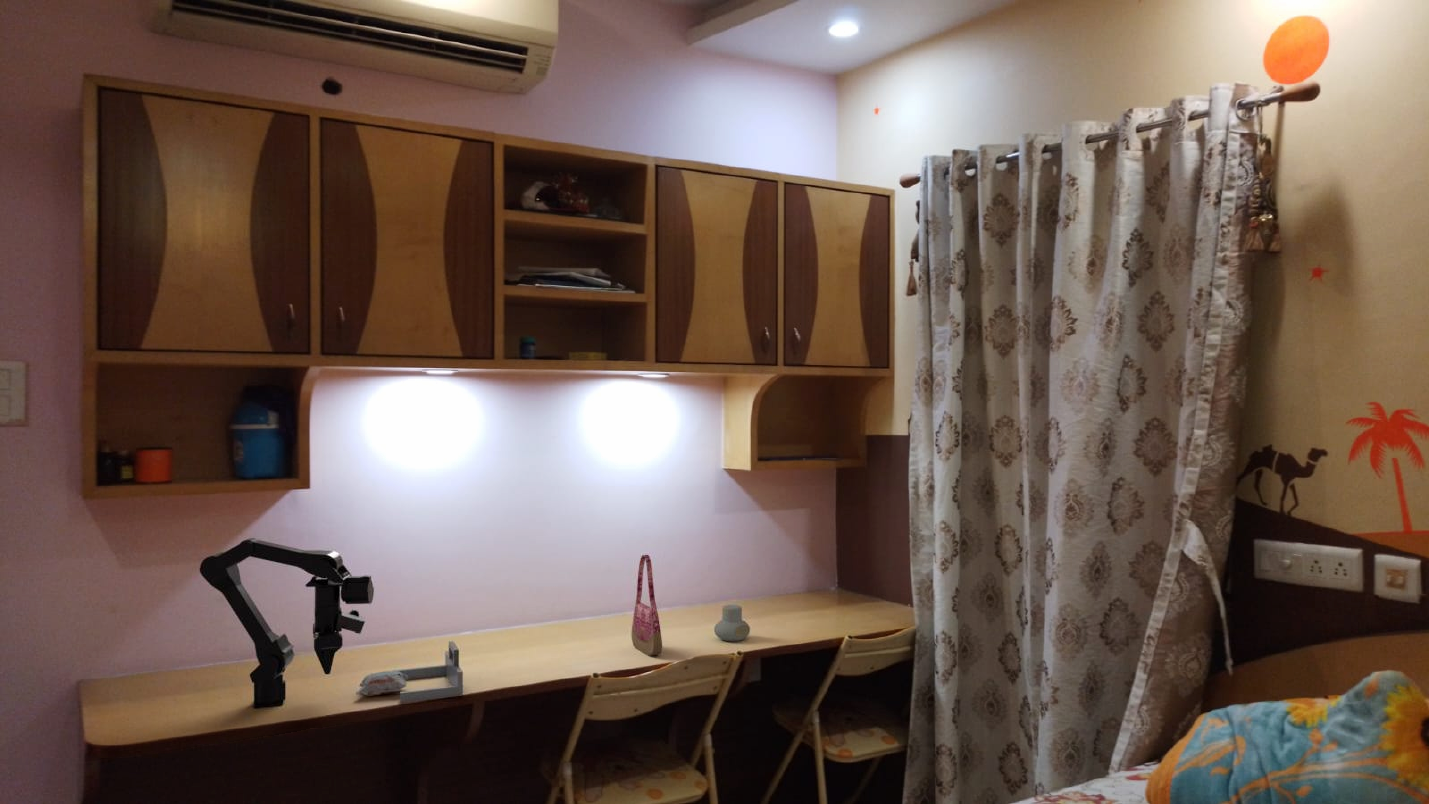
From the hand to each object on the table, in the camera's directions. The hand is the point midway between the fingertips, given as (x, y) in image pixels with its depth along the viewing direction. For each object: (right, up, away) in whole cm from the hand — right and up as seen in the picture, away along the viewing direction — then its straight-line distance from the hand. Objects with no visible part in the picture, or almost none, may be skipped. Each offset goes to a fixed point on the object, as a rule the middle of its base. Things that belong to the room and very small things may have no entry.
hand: (326, 669), depth 230 cm
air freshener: (+99, -8, +61) cm, 117 cm away
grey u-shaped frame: (+20, -8, +11) cm, 25 cm away
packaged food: (+9, -10, +3) cm, 14 cm away
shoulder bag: (+74, -8, +47) cm, 88 cm away
